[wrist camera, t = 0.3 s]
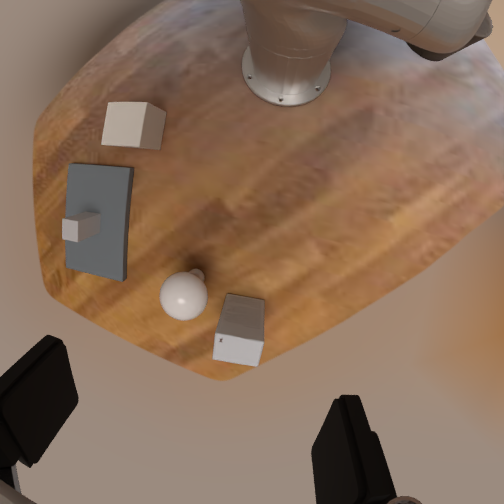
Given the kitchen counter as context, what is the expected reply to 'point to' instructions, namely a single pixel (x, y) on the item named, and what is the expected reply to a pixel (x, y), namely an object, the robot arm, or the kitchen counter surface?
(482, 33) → the pillar candle
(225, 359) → the skincare box
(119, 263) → the post board
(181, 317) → the lightbulb
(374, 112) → the kitchen counter surface
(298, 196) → the kitchen counter surface
